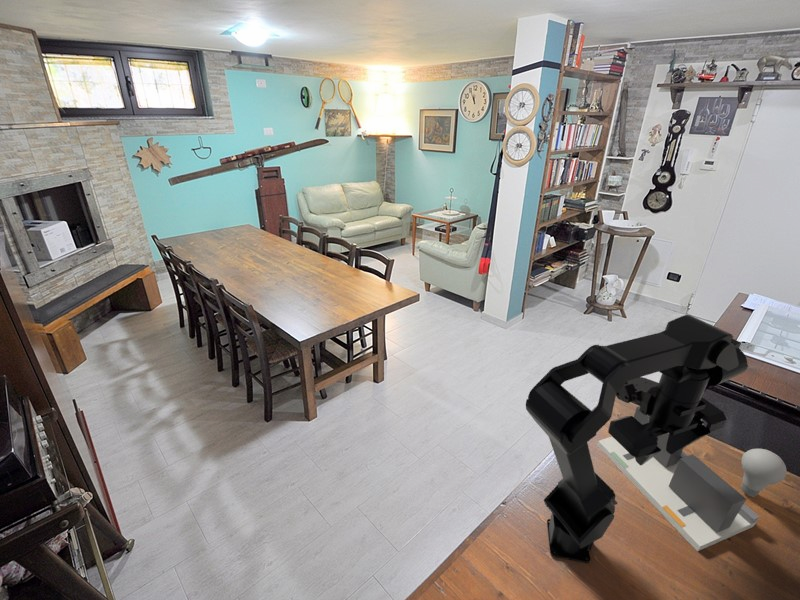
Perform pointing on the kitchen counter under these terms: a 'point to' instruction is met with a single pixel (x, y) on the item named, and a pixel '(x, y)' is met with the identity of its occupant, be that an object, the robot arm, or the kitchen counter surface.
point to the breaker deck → (672, 497)
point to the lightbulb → (761, 470)
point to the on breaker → (659, 443)
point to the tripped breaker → (706, 493)
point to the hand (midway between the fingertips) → (654, 457)
